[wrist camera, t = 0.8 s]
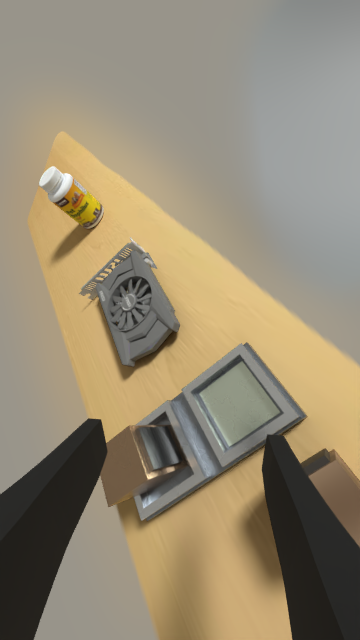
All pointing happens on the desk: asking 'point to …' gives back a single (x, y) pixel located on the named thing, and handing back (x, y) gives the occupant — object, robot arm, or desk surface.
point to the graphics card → (133, 304)
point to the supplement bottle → (71, 197)
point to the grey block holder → (198, 433)
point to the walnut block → (336, 488)
